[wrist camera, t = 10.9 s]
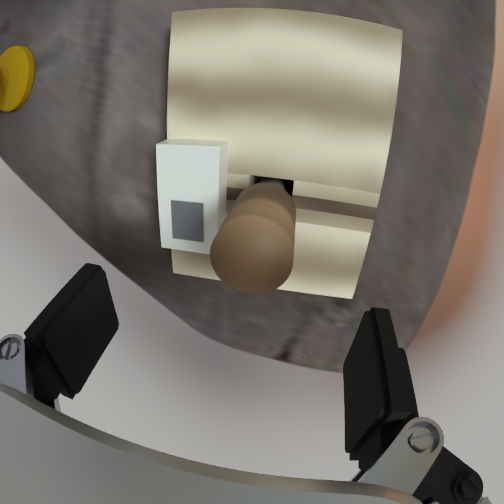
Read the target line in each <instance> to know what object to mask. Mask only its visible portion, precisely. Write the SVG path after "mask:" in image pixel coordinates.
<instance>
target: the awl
mask: <svg viewBox="0 0 504 504" xmlns="http://www.w3.org/2000/svg"><path fill="white" fill-rule="evenodd" d="M295 224H296V208H295V204H294V201H293V199H292V198H291V196H290V195H289V194H288V193H287V192H286V182H285V180H284V179H280V178H271V177H262V179H261V180H260V183H257V184H253V185H251V186H249V187H247V188H246V189H244V190H243V191H242V192H241V193H240V194H239V196H238V198H237V199H236V201H235V203H234V204H233V206H232V208H231V210H230V211H229V213H228V215H227V217H226V218H225V220H224V222H223V224H222V225H221V227H220V229H219V231H218V232H217V234H216V236H215V238H214V240H213V242H212V244H211V248H210V261H211V265H212V268H213V270H214V272H215V273H216V275H217V276H218V277H219V278H220V280H221V281H222V282H224V283H225V284H226V285H227V286H229V287H231V288H232V289H234V290H237V291H239V292H243V293H247V294H263V293H267V292H270V291H273V290H275V289H277V288H278V287H280V286H281V285H282V284H283V283H285V281H286V280H287V279H288V277H289V276H290V274H291V271H292V268H293V260H294V243H295Z"/></svg>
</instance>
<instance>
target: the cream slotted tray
mask: <svg viewBox="0 0 504 504" xmlns="http://www.w3.org/2000/svg"><path fill="white" fill-rule="evenodd" d="M401 48H402V30H399V29H396V28H392V27H388V26H384V25H380V24H376V23H372V22H368V21H363V20H358V19H353V18H348V17H342V16H336V15H330V14H323V13H316V12H307V11H297V10H285V9H268V8H216V9H200V10H188V11H178V12H173V13H172V24H171V36H170V51H169V70H168V97H167V139H169V138H181V139H206V140H223V141H229V147H228V169H227V193H226V217H227V215H228V213H229V211H230V210H231V208H232V206H233V204H234V203H235V201H236V199H237V198H238V196H239V194H240V193H241V192H242V191H243V190H244V189H246V188H247V187H249V186H251V185H253V184H254V183H255V176H263V177H271V178H280V179H288V180H294V185H293V193H292V199H293V201H294V204H295V208H296V224H295V243H294V260H293V268H292V271H291V274H290V276H289V277H288V279H287V280H286V281H285V283H283V284H282V285H281V286H280V287H278V288H277V289H281V290H288V291H295V292H303V293H310V294H318V295H325V296H333V297H341V298H349V299H352V297H353V294H354V291H355V288H356V284H357V281H358V278H359V274H360V271H361V267H362V264H363V260H364V257H365V253H366V249H367V246H368V242H369V238H370V234H371V230H372V226H373V222H374V218H375V214H376V210H377V205H378V201H379V197H380V192H381V187H382V183H383V178H384V173H385V168H386V162H387V157H388V151H389V146H390V140H391V134H392V127H393V121H394V114H395V107H396V99H397V91H398V82H399V72H400V61H401ZM171 252H172V265H173V273H177V274H183V275H189V276H195V277H201V278H208V279H214V280H220V278H219V277H218V276H217V275H216V273H215V272H214V270H213V268H212V265H211V261H210V254H204V253H197V252H190V251H183V250H176V249H171ZM220 281H221V280H220Z"/></svg>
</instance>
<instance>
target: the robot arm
mask: <svg viewBox="0 0 504 504" xmlns="http://www.w3.org/2000/svg"><path fill="white" fill-rule="evenodd" d="M118 326H119V322H118V318H117V314H116V311H115V308H114V304H113V300H112V296H111V293H110V289H109V285H108V281H107V277H106V273H105V271H104V270H103V269H102V267H101V266H99V265H95V264H90V263H87V264H85V265H84V266H83V267H82V268H81V269H80V270H79V271H78V272H77V273H76V274H75V275H74V276H73V277H72V278H71V279H70V281H69V282H68V283H67V284H66V285H65V286H64V287H63V288H62V289H61V290H60V291H59V293H58V294H57V295H56V296H55V297H54V298H53V299H52V300H51V301H50V303H49V304H48V305H47V306H46V307H45V309H44V310H43V311H42V312H41V313H40V314H39V315H38V317H37V318H36V319H35V320H34V321H33V323H32V324H31V325H30V326H29V327H28V329H27V330H26V331H25V332H24V334H25V336H26V338H25V339H24V340H23V338H22V337H21V336H20V335H17V334H9V335H7V336H4V337H3V338H2V339H0V504H491V502H490V501H489V499H488V498H487V497H485V498H483V497H482V492H483V482H482V479H481V477H480V476H479V474H478V473H477V472H475V471H474V470H473V469H472V468H470V467H469V466H468V465H466V464H465V463H464V462H462V461H461V460H460V459H459V458H457V457H456V456H455V455H454V454H452V453H451V452H450V451H448V450H447V449H446V448H445V447H444V446H443V444H444V435H443V431H442V429H441V428H440V426H439V425H438V424H437V423H436V422H435V421H434V420H432V419H430V418H425V417H419V415H418V410H417V404H416V399H415V393H414V388H413V384H412V379H411V374H410V370H409V365H408V361H407V357H406V353H405V350H404V349H403V348H398V344H397V339H396V335H395V331H394V327H393V323H392V319H391V316H390V312H389V310H388V309H384V308H375V307H372V308H371V309H370V311H365V313H364V315H363V318H362V320H361V323H360V326H359V328H358V331H357V333H356V335H355V338H354V340H353V343H352V345H351V347H350V350H349V352H348V355H347V357H346V359H345V362H344V366H343V378H344V405H345V451H346V453H350V460H359V468H360V469H361V470H360V471H359V472H358V473H357V474H356V475H355V476H354V477H353V478H352V479H351V480H350V481H333V480H316V479H303V478H292V477H283V476H273V475H266V474H258V473H252V472H245V471H239V470H234V469H228V468H223V467H218V466H214V465H209V464H204V463H200V462H196V461H192V460H188V459H184V458H180V457H177V456H173V455H169V454H166V453H163V452H159V451H156V450H153V449H150V448H147V447H143V446H141V445H138V444H135V443H132V442H129V441H126V440H124V439H121V438H118V437H116V436H113V435H111V434H108V433H106V432H103V431H101V430H98V429H96V428H94V427H91V426H89V425H87V424H84V423H82V422H80V421H77V420H76V419H73V418H71V417H69V416H67V415H65V414H63V413H61V411H60V405H59V400H58V396H59V394H60V393H61V394H62V395H64V396H66V397H68V398H70V399H73V398H74V396H75V394H77V393H79V392H80V391H81V389H82V387H83V386H84V384H85V382H86V380H87V379H88V377H89V375H90V374H91V372H92V370H93V369H94V367H95V365H96V364H97V362H98V360H99V359H100V357H101V356H102V354H103V352H104V351H105V349H106V347H107V346H108V344H109V343H110V341H111V339H112V338H113V336H114V335H115V333H116V331H117V330H118Z"/></svg>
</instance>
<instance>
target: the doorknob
mask: <svg viewBox="0 0 504 504" xmlns="http://www.w3.org/2000/svg"><path fill="white" fill-rule="evenodd" d="M34 74H35V64H34V58H33V55H32V53H31V51H30V50H29V49H28V48H27V47H25V46H22V45H19V46H12V47H10V48H8V49H7V50H6V51H5V52H4V53H3V54H2V55H1V57H0V109H1V110H3V111H12V110H16V109H18V108H19V107H21V106H22V105H23V104H24V102H25V101H26V99H27V98H28V96H29V94H30V91H31V89H32V85H33V81H34Z"/></svg>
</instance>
